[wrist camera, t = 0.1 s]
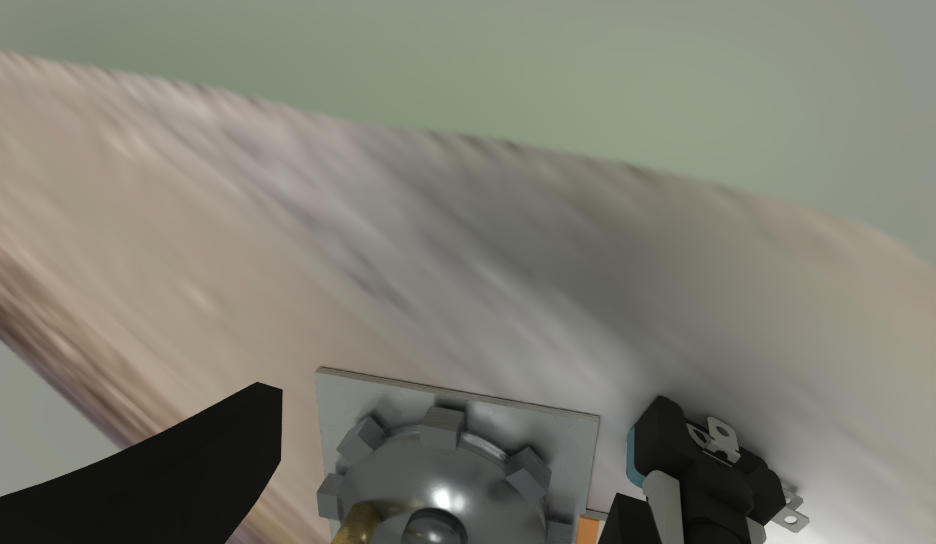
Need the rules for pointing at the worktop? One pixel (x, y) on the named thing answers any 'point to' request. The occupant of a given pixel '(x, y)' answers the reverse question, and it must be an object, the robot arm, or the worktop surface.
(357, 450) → the sprocket
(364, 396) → the sprocket plate
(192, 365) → the worktop surface
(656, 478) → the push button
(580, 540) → the pad
